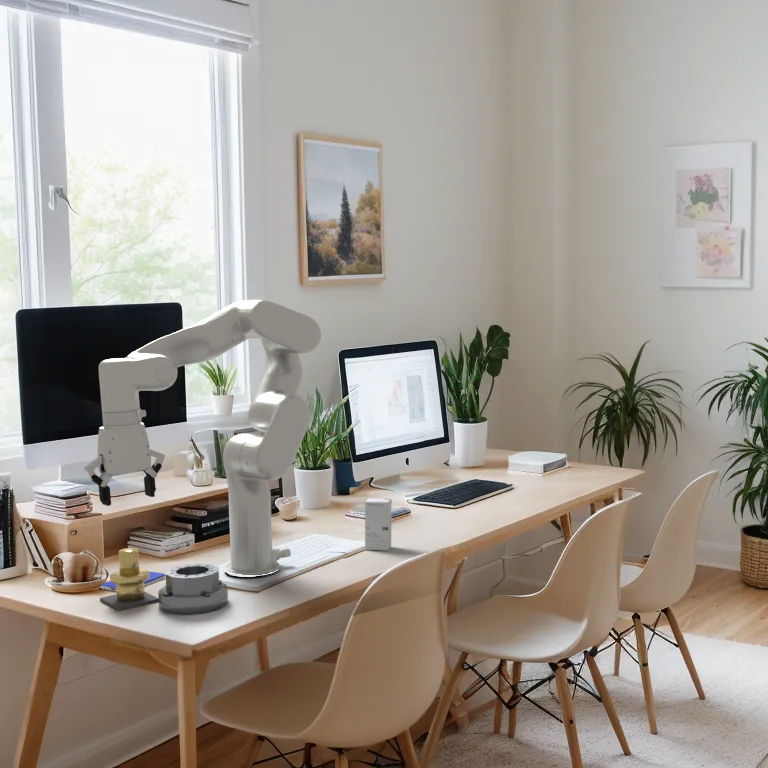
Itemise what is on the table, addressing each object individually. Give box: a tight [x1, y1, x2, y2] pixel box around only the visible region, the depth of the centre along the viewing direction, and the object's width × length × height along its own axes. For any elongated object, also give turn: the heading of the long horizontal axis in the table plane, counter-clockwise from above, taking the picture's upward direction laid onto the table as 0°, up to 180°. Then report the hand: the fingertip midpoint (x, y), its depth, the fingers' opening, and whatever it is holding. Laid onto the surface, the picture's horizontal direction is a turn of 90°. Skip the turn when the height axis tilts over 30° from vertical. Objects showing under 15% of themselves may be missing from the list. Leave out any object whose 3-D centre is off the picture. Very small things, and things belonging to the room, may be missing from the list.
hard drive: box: [100, 570, 166, 592], centre depth 224 cm, size 2×8×12 cm
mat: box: [99, 591, 159, 611], centre depth 211 cm, size 9×9×1 cm
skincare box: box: [364, 497, 393, 552], centre depth 250 cm, size 6×4×12 cm
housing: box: [157, 563, 229, 616], centre depth 208 cm, size 14×14×7 cm
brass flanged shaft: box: [109, 547, 150, 602], centre depth 211 cm, size 8×8×10 cm
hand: (128, 500), depth 210 cm, fingers open, 9 cm apart
